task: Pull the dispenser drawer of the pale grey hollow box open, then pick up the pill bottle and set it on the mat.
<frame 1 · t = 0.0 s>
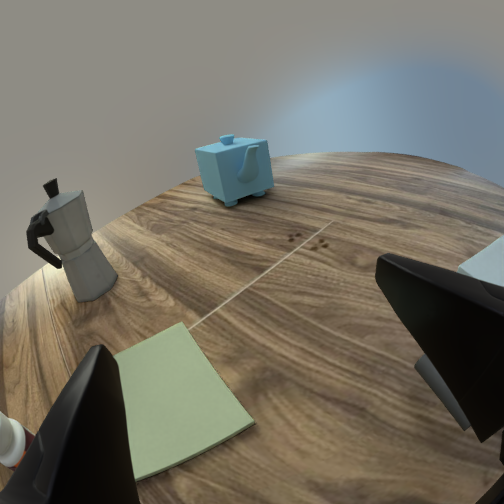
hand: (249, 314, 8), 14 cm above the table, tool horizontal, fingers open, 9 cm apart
teapot: (242, 197, 59), on the table
pill bottle: (56, 470, 12), on the table
mat: (146, 401, 20), on the table
coffee maker: (93, 290, 37), on the table
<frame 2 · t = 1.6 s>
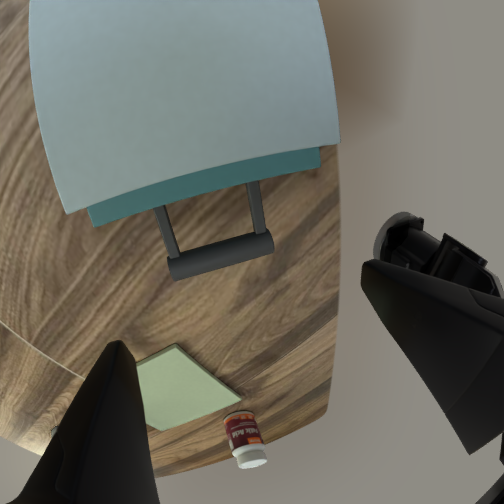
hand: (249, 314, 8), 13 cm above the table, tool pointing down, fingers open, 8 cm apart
dispenser drawer: (184, 101, 12), point 4 cm above the table, slide at 0.0 cm, touching pale grey hollow box
pale grey hollow box: (171, 48, 13), on the table
pill bottle: (237, 416, 35), on the table
mat: (166, 395, 29), on the table
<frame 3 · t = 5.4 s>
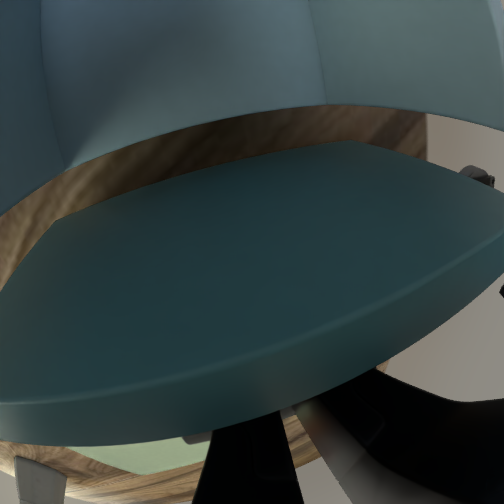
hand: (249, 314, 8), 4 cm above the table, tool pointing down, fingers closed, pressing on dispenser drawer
dispenser drawer: (194, 45, 3), point 4 cm above the table, slide at 7.8 cm, touching gripper
mat: (138, 441, 16), on the table
coffee maker: (45, 469, 18), on the table
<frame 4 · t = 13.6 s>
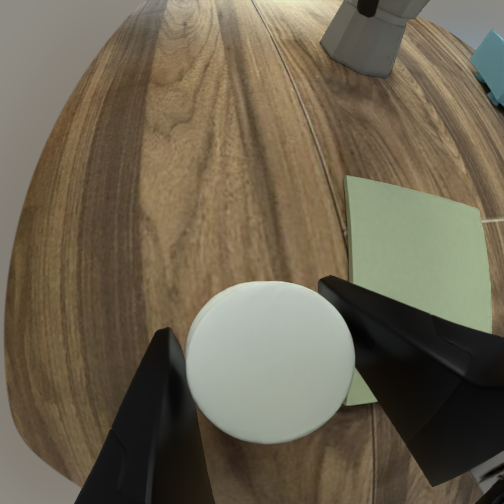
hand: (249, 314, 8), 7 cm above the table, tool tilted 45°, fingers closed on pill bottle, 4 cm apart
teapot: (498, 102, 27), on the table
pill bottle: (247, 343, 14), on the table, touching gripper
mat: (434, 288, 15), on the table
coffee maker: (353, 58, 22), on the table
when the fingers open (7 cm above the table, at t = 18.8 s): pill bottle stays where it is, resting on mat.
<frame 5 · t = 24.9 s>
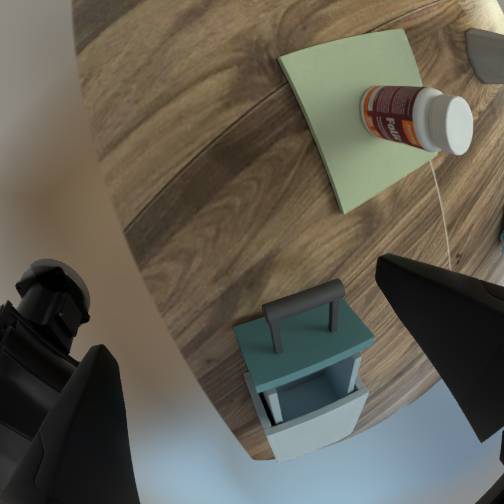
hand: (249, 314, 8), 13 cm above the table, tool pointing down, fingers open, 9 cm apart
dispenser drawer: (303, 360, 24), point 4 cm above the table, slide at 7.9 cm
pale grey hollow box: (292, 386, 34), on the table
pill bottle: (378, 111, 19), resting on mat
mat: (377, 111, 19), on the table
coffee maker: (474, 51, 18), on the table
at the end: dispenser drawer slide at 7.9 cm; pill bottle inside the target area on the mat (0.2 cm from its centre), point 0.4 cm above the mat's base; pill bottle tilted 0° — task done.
